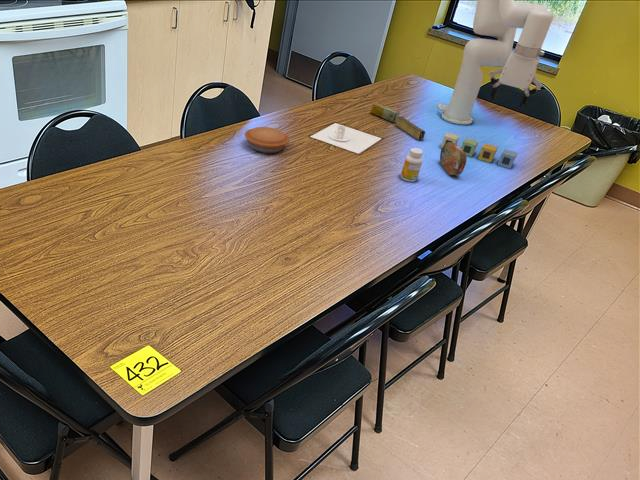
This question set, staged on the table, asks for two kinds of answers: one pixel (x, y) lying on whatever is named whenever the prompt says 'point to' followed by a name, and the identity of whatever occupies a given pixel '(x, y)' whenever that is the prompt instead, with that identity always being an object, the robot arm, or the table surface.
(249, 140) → the pie
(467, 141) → the sage block
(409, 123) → the decorative block
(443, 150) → the tin
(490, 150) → the mustard block
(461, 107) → the robot arm
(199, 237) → the table surface
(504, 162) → the blue-grey block
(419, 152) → the supplement bottle
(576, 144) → the table surface
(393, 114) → the medication box
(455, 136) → the cream block
